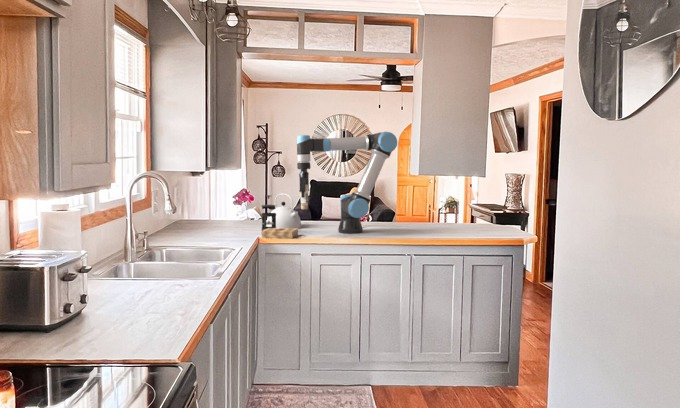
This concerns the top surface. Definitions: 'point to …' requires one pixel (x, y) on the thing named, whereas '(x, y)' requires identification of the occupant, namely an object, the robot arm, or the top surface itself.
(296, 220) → the kettle
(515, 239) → the top surface
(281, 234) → the board
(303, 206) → the peg
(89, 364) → the top surface
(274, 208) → the french press
